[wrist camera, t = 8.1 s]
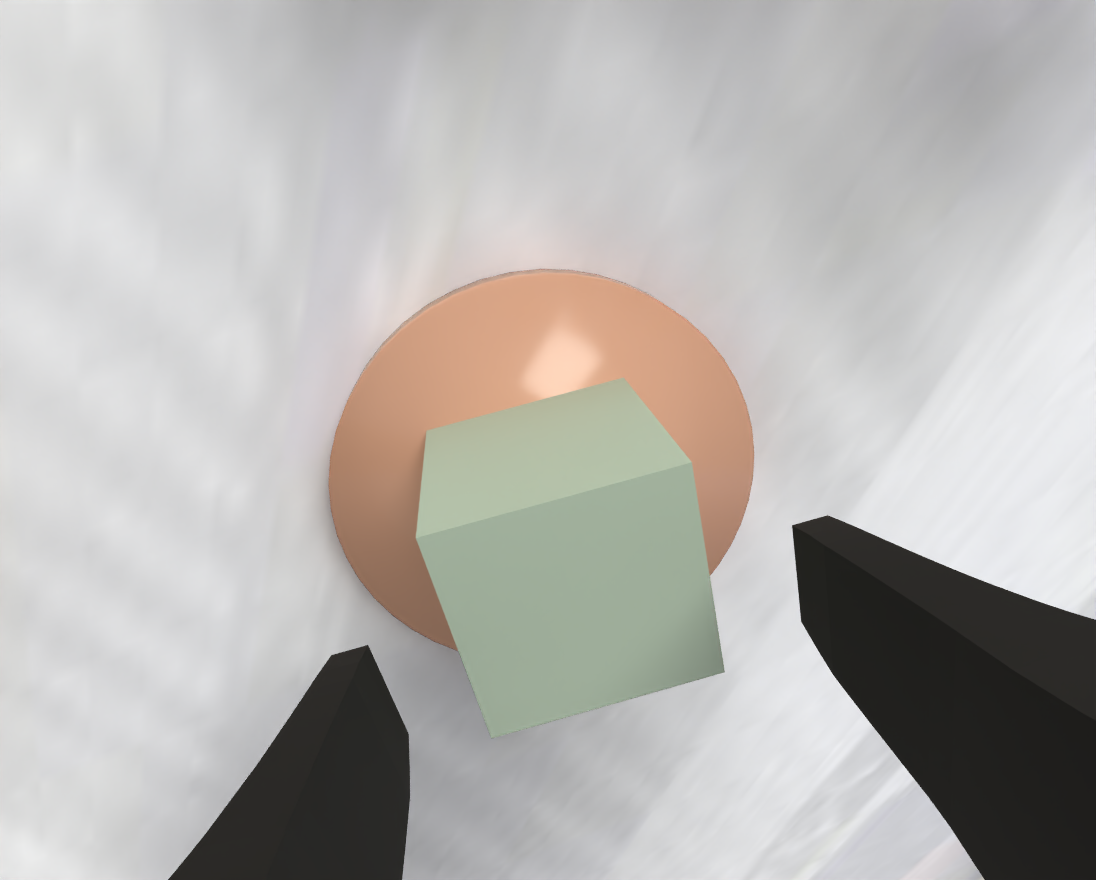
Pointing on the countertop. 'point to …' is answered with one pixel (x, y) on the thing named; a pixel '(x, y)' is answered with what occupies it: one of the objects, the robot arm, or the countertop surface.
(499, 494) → the block
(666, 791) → the countertop surface
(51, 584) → the countertop surface
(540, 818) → the countertop surface
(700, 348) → the peach glossy disc
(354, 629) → the countertop surface
